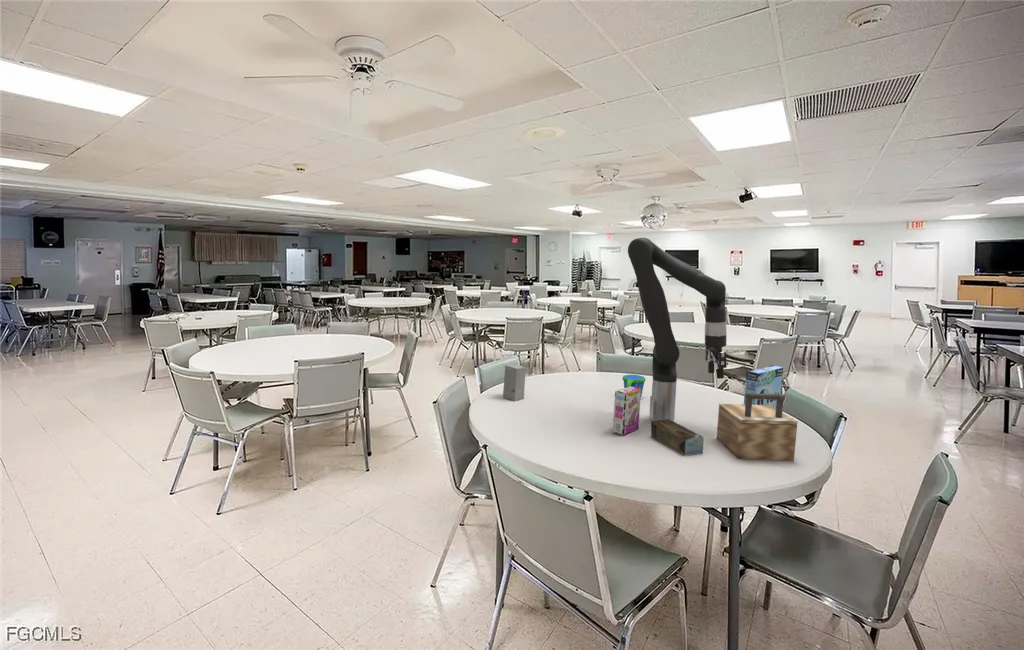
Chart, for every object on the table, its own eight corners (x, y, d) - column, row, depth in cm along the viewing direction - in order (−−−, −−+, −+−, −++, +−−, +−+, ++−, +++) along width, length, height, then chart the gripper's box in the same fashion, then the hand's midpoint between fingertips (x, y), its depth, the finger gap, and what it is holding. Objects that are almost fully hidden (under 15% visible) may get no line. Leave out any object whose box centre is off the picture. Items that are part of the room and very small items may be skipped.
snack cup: (636, 403, 213) (637, 381, 212) (615, 399, 220) (616, 378, 218) (649, 396, 225) (651, 375, 224) (629, 392, 232) (630, 372, 230)
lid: (740, 422, 150) (742, 396, 149) (718, 406, 168) (720, 382, 167) (797, 424, 149) (799, 397, 148) (769, 407, 167) (771, 383, 166)
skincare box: (502, 397, 219) (503, 365, 217) (513, 395, 224) (514, 363, 222) (514, 401, 213) (515, 368, 211) (525, 398, 218) (526, 366, 216)
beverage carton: (684, 456, 154) (685, 437, 153) (649, 436, 172) (650, 419, 171) (703, 453, 156) (704, 435, 155) (667, 434, 174) (668, 417, 173)
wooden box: (737, 458, 152) (740, 423, 150) (716, 438, 170) (718, 407, 168) (793, 460, 151) (797, 425, 149) (766, 440, 169) (769, 408, 167)
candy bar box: (623, 436, 171) (625, 393, 169) (612, 432, 174) (614, 390, 172) (639, 429, 179) (641, 388, 177) (628, 426, 182) (630, 385, 180)
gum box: (766, 418, 194) (771, 364, 191) (779, 421, 189) (784, 367, 187) (740, 426, 183) (745, 370, 180) (753, 430, 179) (758, 372, 176)
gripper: (698, 331, 181) (698, 371, 183) (712, 336, 167) (712, 380, 169) (718, 330, 181) (718, 371, 183) (733, 335, 167) (733, 379, 169)
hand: (715, 375), depth 176 cm, fingers open, 8 cm apart
